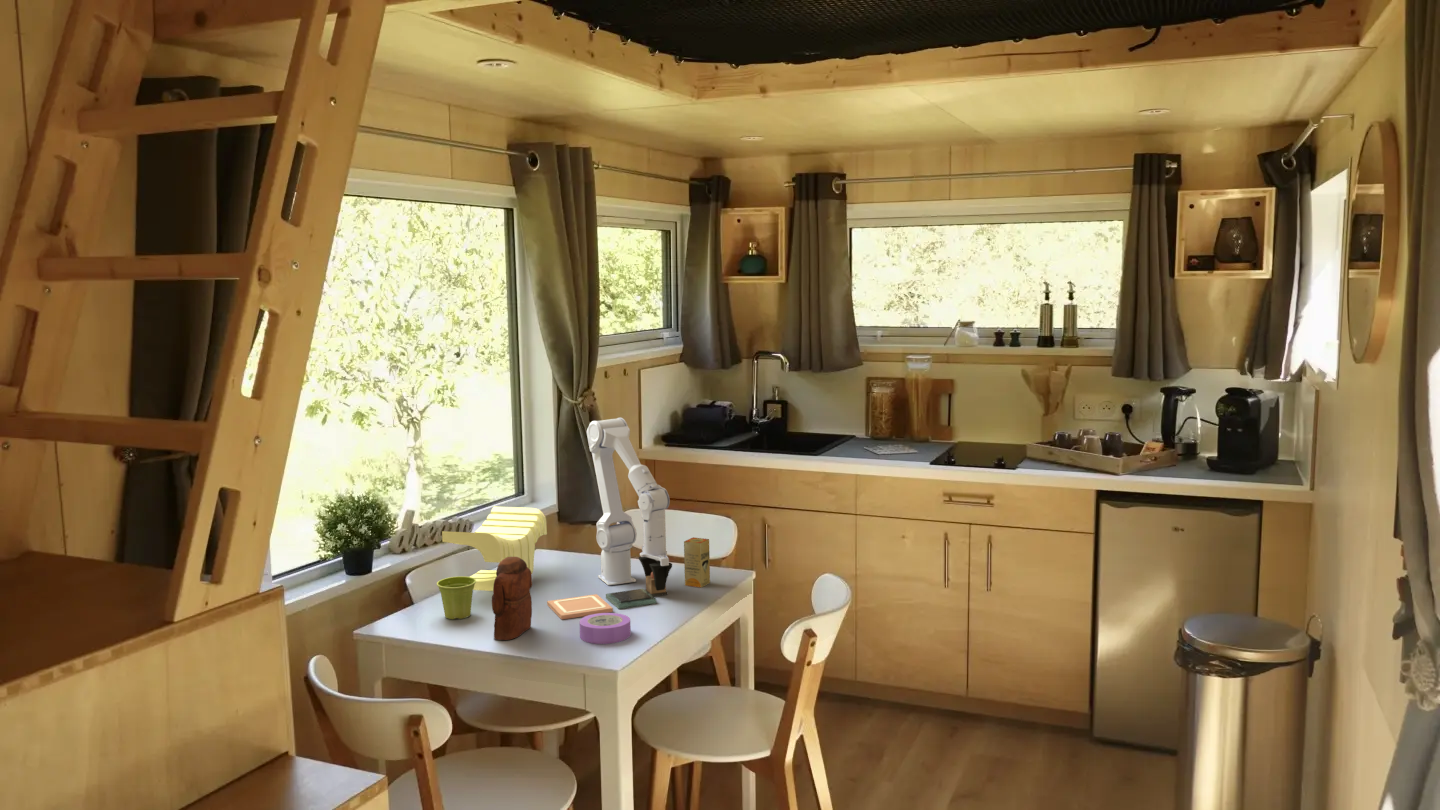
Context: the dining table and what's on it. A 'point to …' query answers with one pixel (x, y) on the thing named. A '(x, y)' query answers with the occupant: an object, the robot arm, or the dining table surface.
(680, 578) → the dining table surface
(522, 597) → the wooden figurine
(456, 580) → the plant pot
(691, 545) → the shoe polish box
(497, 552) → the slatted curved stool
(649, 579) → the walnut stamp
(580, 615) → the marked board
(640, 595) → the ink pad
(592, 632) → the masking tape
